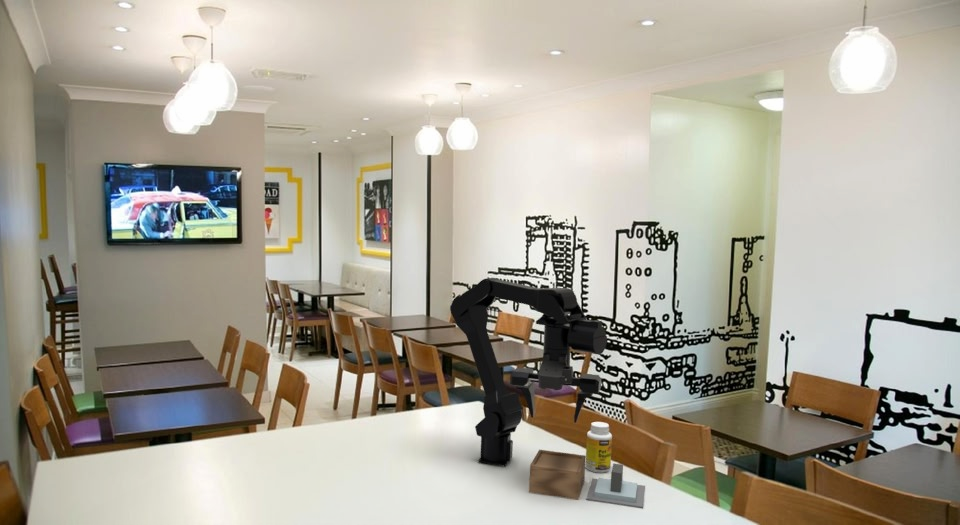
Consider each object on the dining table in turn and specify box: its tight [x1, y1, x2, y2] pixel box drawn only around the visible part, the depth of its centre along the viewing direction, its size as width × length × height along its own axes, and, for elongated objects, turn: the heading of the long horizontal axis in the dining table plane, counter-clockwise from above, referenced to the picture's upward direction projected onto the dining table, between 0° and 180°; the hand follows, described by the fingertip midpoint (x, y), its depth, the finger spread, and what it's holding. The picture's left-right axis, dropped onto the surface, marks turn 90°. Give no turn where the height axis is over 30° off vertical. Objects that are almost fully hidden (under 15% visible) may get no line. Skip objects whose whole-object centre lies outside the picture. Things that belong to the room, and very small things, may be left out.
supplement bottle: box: [585, 421, 613, 474], centre depth 147 cm, size 6×6×10 cm
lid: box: [594, 463, 638, 503], centre depth 134 cm, size 8×8×5 cm
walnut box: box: [528, 449, 586, 500], centre depth 136 cm, size 10×10×6 cm
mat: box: [585, 478, 646, 509], centre depth 134 cm, size 11×11×1 cm
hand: (553, 419), depth 140 cm, fingers open, 9 cm apart
